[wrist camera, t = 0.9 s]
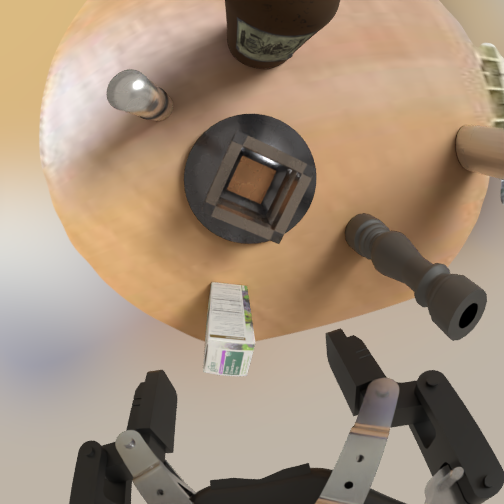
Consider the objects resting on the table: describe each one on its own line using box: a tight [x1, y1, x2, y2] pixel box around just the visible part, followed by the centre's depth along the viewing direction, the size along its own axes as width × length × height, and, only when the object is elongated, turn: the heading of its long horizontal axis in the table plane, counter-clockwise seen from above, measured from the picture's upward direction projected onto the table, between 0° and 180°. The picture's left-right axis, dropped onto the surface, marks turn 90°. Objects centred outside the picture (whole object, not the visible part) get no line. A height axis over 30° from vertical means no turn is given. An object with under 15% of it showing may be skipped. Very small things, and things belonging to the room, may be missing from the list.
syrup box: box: [203, 282, 255, 376], centre depth 38 cm, size 6×6×14 cm
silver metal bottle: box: [107, 69, 173, 121], centre depth 26 cm, size 4×4×14 cm
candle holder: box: [345, 213, 487, 341], centre depth 31 cm, size 6×6×25 cm
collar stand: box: [184, 114, 316, 244], centre depth 34 cm, size 18×18×10 cm
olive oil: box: [225, 0, 340, 69], centre depth 19 cm, size 11×11×25 cm
